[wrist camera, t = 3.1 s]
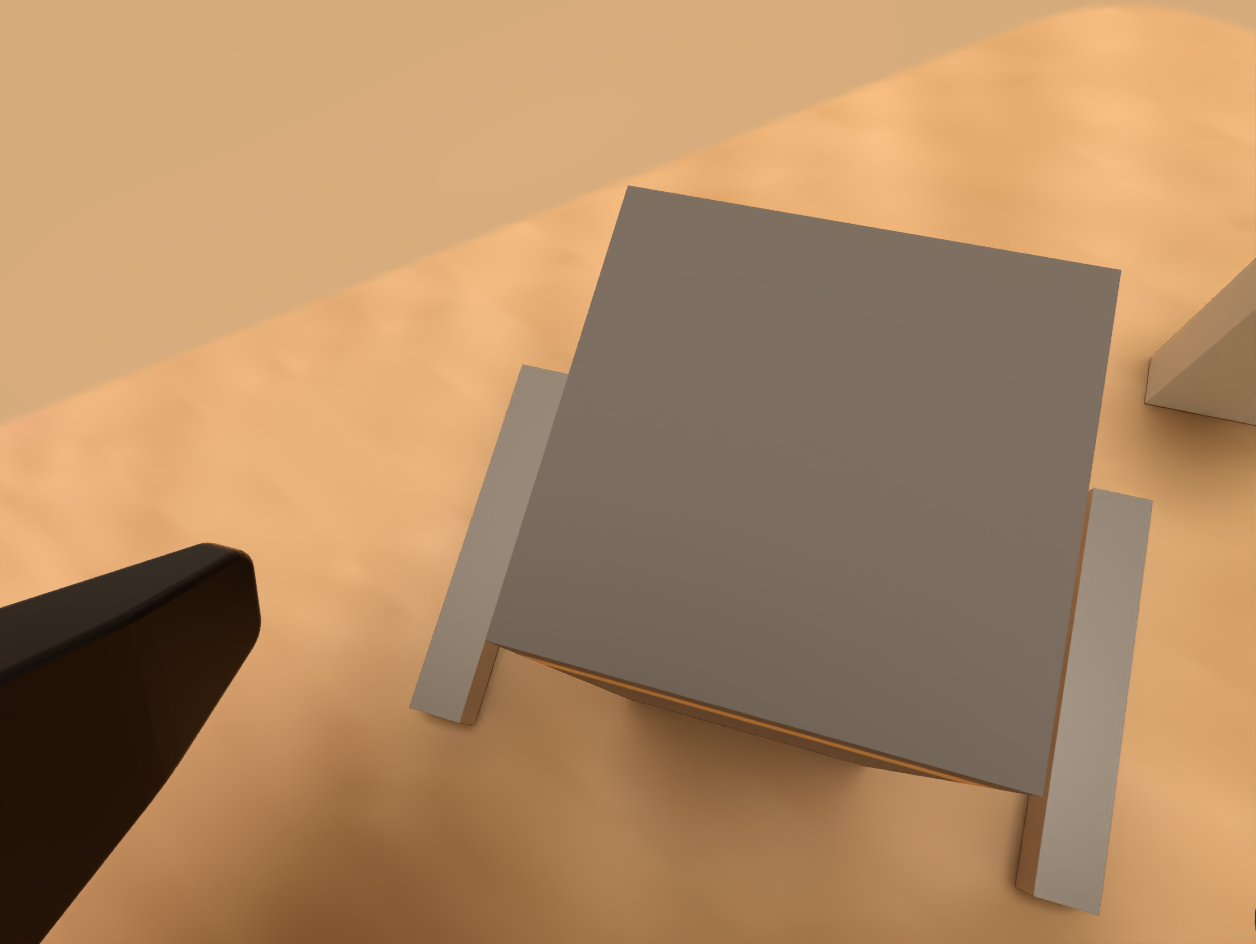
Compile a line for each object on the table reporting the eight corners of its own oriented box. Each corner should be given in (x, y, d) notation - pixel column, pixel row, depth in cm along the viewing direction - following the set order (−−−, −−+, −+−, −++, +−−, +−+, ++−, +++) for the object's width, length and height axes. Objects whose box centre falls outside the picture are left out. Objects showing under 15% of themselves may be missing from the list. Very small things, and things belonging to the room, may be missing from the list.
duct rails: (1869, 1143, 13) (2741, 1450, 7) (427, 710, 17) (274, 693, 12) (1822, 483, 16) (2443, 333, 10) (576, 248, 20) (511, 51, 14)
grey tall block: (865, 766, 16) (1042, 797, 7) (628, 698, 17) (485, 639, 8) (912, 530, 17) (1120, 270, 8) (687, 477, 18) (628, 185, 9)
